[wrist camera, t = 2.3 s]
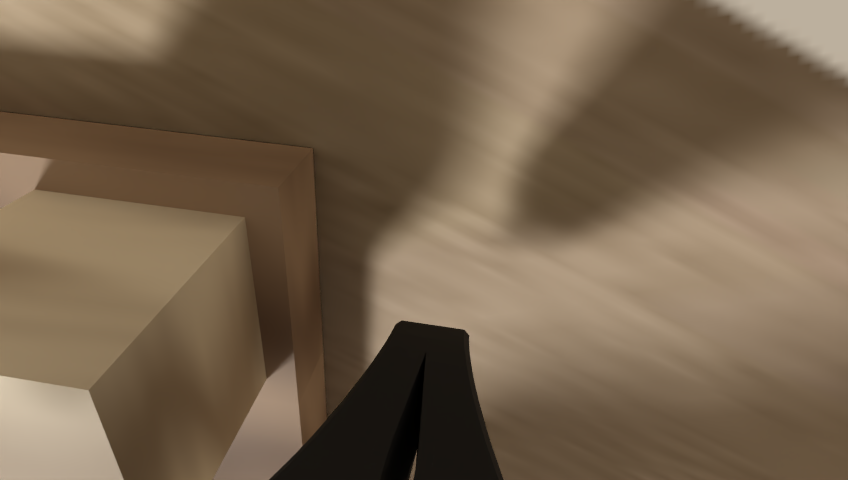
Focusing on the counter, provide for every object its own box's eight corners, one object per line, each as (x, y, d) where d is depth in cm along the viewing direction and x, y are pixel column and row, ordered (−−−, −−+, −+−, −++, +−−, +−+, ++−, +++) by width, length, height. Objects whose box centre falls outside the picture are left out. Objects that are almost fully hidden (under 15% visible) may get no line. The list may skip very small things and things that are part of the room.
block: (266, 378, 13) (161, 574, 9) (93, 350, 13) (-78, 526, 9) (245, 217, 10) (88, 390, 7) (34, 189, 11) (-228, 337, 7)
